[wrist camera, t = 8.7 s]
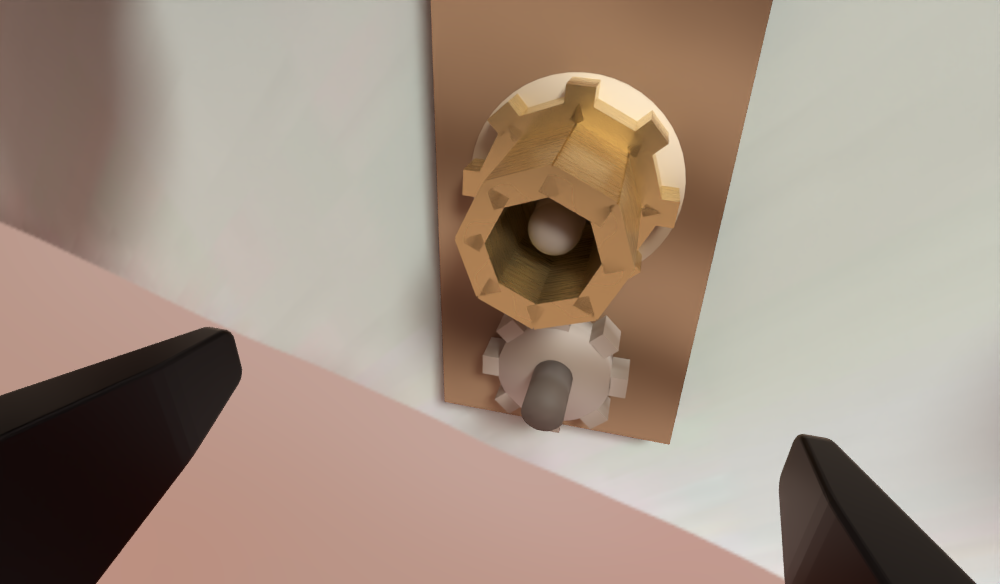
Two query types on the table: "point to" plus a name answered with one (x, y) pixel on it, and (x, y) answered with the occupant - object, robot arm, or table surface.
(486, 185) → the brass gear
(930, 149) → the table surface
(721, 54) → the board
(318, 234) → the table surface
